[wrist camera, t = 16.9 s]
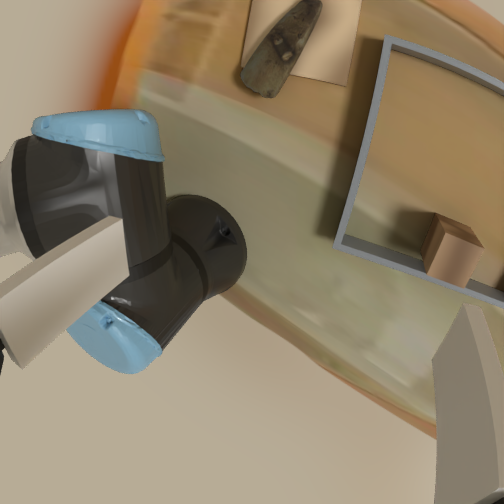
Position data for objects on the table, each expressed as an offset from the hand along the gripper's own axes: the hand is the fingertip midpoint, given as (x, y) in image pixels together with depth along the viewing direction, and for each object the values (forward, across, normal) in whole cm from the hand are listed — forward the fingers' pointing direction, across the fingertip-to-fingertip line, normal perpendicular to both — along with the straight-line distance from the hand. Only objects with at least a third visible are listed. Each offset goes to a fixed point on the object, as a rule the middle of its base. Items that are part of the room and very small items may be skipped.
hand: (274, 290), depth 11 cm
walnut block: (+26, +15, -6) cm, 30 cm away
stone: (+26, -2, +13) cm, 29 cm away
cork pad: (+26, -6, +15) cm, 31 cm away
